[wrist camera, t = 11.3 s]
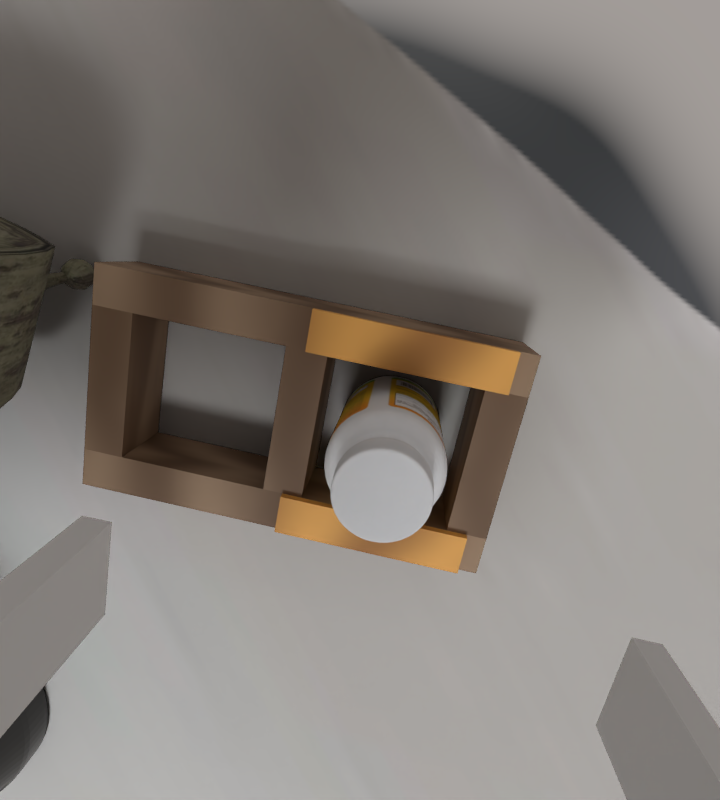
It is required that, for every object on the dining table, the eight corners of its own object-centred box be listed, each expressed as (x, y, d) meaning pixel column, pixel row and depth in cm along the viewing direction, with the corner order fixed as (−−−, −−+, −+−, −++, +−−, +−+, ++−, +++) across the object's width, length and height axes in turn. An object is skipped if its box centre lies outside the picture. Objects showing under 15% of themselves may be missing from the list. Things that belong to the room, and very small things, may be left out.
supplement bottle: (349, 469, 30) (322, 564, 21) (336, 379, 29) (300, 437, 19) (443, 461, 29) (458, 556, 20) (434, 369, 28) (446, 423, 19)
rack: (123, 456, 31) (78, 486, 27) (137, 261, 28) (89, 261, 24) (467, 533, 30) (476, 577, 26) (522, 342, 27) (543, 357, 23)
